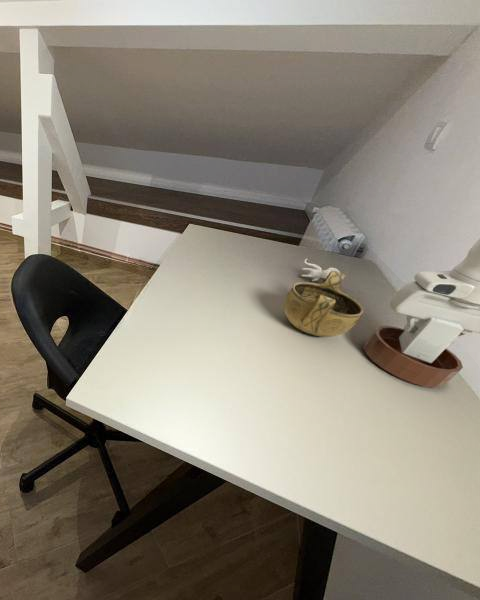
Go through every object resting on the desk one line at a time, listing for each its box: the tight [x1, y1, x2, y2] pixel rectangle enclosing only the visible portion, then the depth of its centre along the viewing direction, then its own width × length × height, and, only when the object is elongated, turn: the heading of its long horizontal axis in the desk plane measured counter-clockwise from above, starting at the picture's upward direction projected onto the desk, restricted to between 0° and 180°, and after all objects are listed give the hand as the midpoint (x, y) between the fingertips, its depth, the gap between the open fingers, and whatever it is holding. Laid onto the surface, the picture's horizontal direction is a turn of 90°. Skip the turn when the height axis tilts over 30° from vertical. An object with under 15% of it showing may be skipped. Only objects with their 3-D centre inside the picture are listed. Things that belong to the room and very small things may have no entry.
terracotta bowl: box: [362, 325, 464, 389], centre depth 79 cm, size 17×17×6 cm
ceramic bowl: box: [283, 271, 364, 338], centre depth 87 cm, size 22×17×15 cm
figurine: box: [300, 258, 341, 282], centre depth 117 cm, size 8×9×12 cm
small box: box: [399, 318, 464, 363], centre depth 75 cm, size 8×6×10 cm
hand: (426, 336), depth 76 cm, fingers closed on small box, 6 cm apart
